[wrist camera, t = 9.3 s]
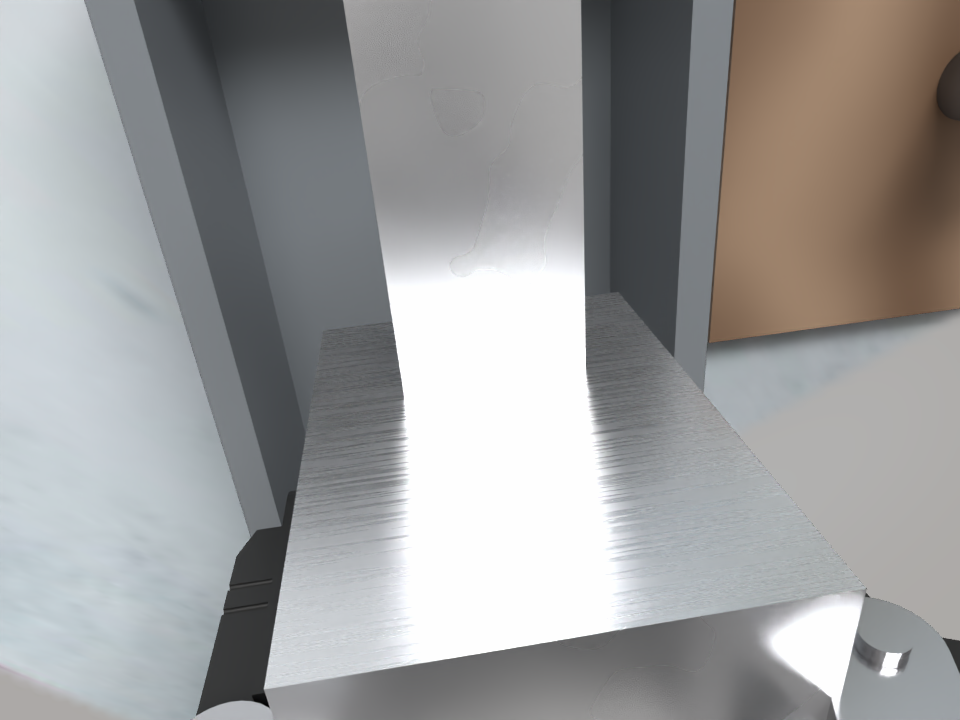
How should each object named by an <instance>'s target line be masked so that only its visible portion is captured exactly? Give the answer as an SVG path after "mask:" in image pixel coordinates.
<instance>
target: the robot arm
mask: <svg viewBox="0 0 960 720" xmlns="http://www.w3.org/2000/svg"><path fill="white" fill-rule="evenodd" d="M296 492H297V490H294V491H290V492H289V493H288V496H287V500H286V506H285V511H284V517H283V523H282V526H280V527H273V528H266V529H260V530H256V532H255V533H254V534H253V536H252V537H251V538H250V540H249V541H248V542H247V543H246V545H245V546H244V547H243V549H242V550H241V551H240V553H239V554H238V555H237V557H236V561H235V565H234V569H233V573H232V577H231V581H230V585H229V586H230V591H228V593H227V596H226V600H225V604H224V608H223V610H224V615H222V616H221V620H220V624H219V628H218V632H217V636H216V640H215V644H214V648H213V652H212V656H211V660H210V664H209V668H208V672H207V676H206V680H205V684H204V688H203V692H202V696H201V700H200V704H199V708H198V711H197V714H196V717H194V718H193V719H191V720H274V718H273V715H272V712H271V709H270V706H269V703H268V700H267V697H266V695H265V692H264V685H265V679H266V673H267V667H268V661H269V655H270V649H271V643H272V637H273V631H274V625H275V619H276V613H277V607H278V601H279V595H280V588H281V582H282V576H283V570H284V564H285V558H286V552H287V546H288V540H289V534H290V528H291V522H292V516H293V510H294V504H295V498H296ZM826 720H960V641H958V640H952V639H946V638H942V637H941V636H940V635H939V633H938V632H937V631H935V629H934V628H933V627H931V625H929V624H928V623H927V622H926V621H924V620H923V619H922V618H920V617H919V616H917V615H915V614H914V613H912V612H911V611H909V610H907V609H905V608H902V607H900V606H898V605H896V604H893V603H890V602H887V601H884V600H880V599H875V598H870V597H869V596H868V594H867V593H865V597H864V602H863V606H862V610H861V614H860V618H859V622H858V627H857V631H856V635H855V639H854V643H853V647H852V651H851V656H850V660H849V664H848V668H847V672H846V676H845V681H844V685H843V689H842V693H841V696H838V697H832V698H831V702H830V706H829V711H828V715H827V719H826Z"/></svg>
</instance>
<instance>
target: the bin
mask: <svg viewBox="0 0 960 720" xmlns="http://www.w3.org/2000/svg"><path fill="white" fill-rule="evenodd" d="M84 1H85V4H86V7H87V11H88V14H89V17H90V20H91V24H92V27H93V30H94V33H95V36H96V40H97V43H98V46H99V49H100V53H101V56H102V59H103V62H104V66H105V69H106V72H107V75H108V78H109V82H110V85H111V88H112V91H113V95H114V98H115V101H116V104H117V107H118V111H119V114H120V117H121V120H122V124H123V127H124V130H125V133H126V136H127V140H128V143H129V146H130V149H131V153H132V156H133V159H134V162H135V165H136V169H137V172H138V175H139V178H140V182H141V185H142V188H143V191H144V194H145V198H146V201H147V204H148V207H149V211H150V214H151V217H152V220H153V223H154V227H155V230H156V233H157V236H158V240H159V243H160V246H161V249H162V252H163V256H164V259H165V262H166V265H167V269H168V272H169V275H170V278H171V281H172V285H173V288H174V291H175V294H176V298H177V301H178V304H179V307H180V311H181V314H182V317H183V320H184V323H185V327H186V330H187V333H188V336H189V340H190V343H191V346H192V349H193V352H194V356H195V359H196V362H197V365H198V369H199V372H200V375H201V378H202V381H203V385H204V388H205V391H206V394H207V398H208V401H209V404H210V407H211V410H212V414H213V417H214V420H215V423H216V427H217V430H218V433H219V436H220V439H221V443H222V446H223V449H224V452H225V456H226V459H227V462H228V465H229V468H230V472H231V475H232V478H233V481H234V485H235V488H236V491H237V494H238V497H239V501H240V504H241V507H242V510H243V514H244V517H245V520H246V523H247V527H248V530H249V533H250V536H251V537H252V536H253V534H254V533H255V532H256V530H260V529H266V528H273V527H280V526H282V523H283V517H284V511H285V506H286V500H287V496H288V493H289V492H290V491H294V490H297V485H298V479H299V473H300V467H301V461H302V455H303V449H304V443H305V437H306V431H307V425H308V419H309V413H310V407H311V401H312V395H313V389H314V383H315V376H316V370H317V364H318V358H319V352H320V346H321V340H322V334H323V330H329V329H337V328H344V327H352V326H360V325H368V324H375V323H383V322H391V321H392V314H391V308H390V301H389V295H388V288H387V282H386V275H385V269H384V262H383V256H382V249H381V243H380V236H379V230H378V223H377V217H376V210H375V204H374V197H373V191H372V184H371V178H370V171H369V165H368V158H367V152H366V145H365V139H364V133H363V126H362V120H361V113H360V107H359V100H358V94H357V87H356V81H355V74H354V68H353V61H352V55H351V48H350V42H349V35H348V29H347V22H346V16H345V9H344V3H343V0H84ZM733 2H734V0H581V41H582V118H583V195H584V272H585V296H593V295H601V294H609V293H616V292H619V293H620V294H621V296H622V297H623V298H624V299H625V300H626V302H627V303H628V304H629V305H630V306H631V308H632V309H633V310H634V311H635V312H636V314H637V315H638V316H639V317H640V318H641V320H642V321H643V322H644V323H645V324H646V326H647V327H648V328H649V329H650V330H651V332H652V333H653V334H654V335H655V336H656V337H657V339H658V340H659V341H660V342H661V343H662V345H663V346H664V347H665V348H666V349H667V351H668V352H669V353H670V354H671V355H672V357H673V358H674V359H675V360H676V361H677V363H678V364H679V365H680V366H681V367H682V369H683V370H684V371H685V372H686V373H687V374H688V376H689V377H690V378H691V379H692V380H693V382H694V383H695V384H696V385H697V386H698V388H699V389H700V390H701V391H702V392H704V379H705V366H706V353H707V340H708V327H709V314H710V301H711V288H712V275H713V262H714V249H715V236H716V223H717V210H718V197H719V184H720V171H721V158H722V145H723V132H724V119H725V106H726V93H727V80H728V67H729V54H730V41H731V28H732V15H733Z"/></svg>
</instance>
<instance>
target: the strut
mask: <svg viewBox="0 0 960 720" xmlns="http://www.w3.org/2000/svg"><path fill="white" fill-rule="evenodd" d="M343 3H344V9H345V16H346V22H347V29H348V35H349V42H350V48H351V55H352V61H353V68H354V74H355V81H356V87H357V94H358V100H359V107H360V113H361V120H362V126H363V133H364V139H365V145H366V152H367V158H368V165H369V171H370V178H371V184H372V191H373V197H374V204H375V210H376V217H377V223H378V230H379V236H380V243H381V249H382V256H383V262H384V269H385V275H386V282H387V288H388V295H389V301H390V308H391V314H392V321H391V322H383V323H375V324H368V325H360V326H352V327H344V328H337V329H329V330H323V334H322V340H321V346H320V352H319V358H318V364H317V370H316V376H315V383H314V389H313V395H312V401H311V407H310V413H309V419H308V425H307V431H306V437H305V443H304V449H303V455H302V461H301V467H300V473H299V479H298V485H297V492H296V498H295V504H294V510H293V516H292V522H291V528H290V534H289V540H288V546H287V552H286V558H285V564H284V570H283V576H282V582H281V588H280V595H279V601H278V607H277V613H276V619H275V625H274V631H273V637H272V643H271V649H270V655H269V661H268V667H267V673H266V679H265V685H264V692H265V695H266V697H267V700H268V703H269V706H270V709H271V712H272V715H273V718H274V720H826V719H827V715H828V711H829V706H830V702H831V698H832V697H838V696H841V693H842V689H843V685H844V681H845V676H846V672H847V668H848V664H849V660H850V656H851V651H852V647H853V643H854V639H855V635H856V631H857V627H858V622H859V618H860V614H861V610H862V606H863V602H864V597H865V593H866V589H867V588H866V587H865V586H864V585H863V583H862V582H861V581H860V580H859V579H858V578H857V576H856V575H855V574H854V573H853V572H852V570H851V569H850V568H849V567H848V566H847V564H846V563H845V562H844V561H843V560H842V559H841V557H840V556H839V555H838V554H837V553H836V551H835V550H834V549H833V548H832V547H831V545H830V544H829V543H828V542H827V541H826V539H825V538H824V537H823V536H822V535H821V533H820V532H819V531H818V530H817V529H816V527H815V526H814V525H813V524H812V523H811V522H810V520H809V519H808V518H807V517H806V515H805V514H804V513H803V512H802V511H801V509H800V508H799V507H798V506H797V505H796V504H795V502H794V501H793V500H792V499H791V498H790V496H789V495H788V494H787V493H786V492H785V490H784V489H783V488H782V487H781V486H780V484H779V483H778V482H777V481H776V480H775V479H774V477H773V476H772V475H771V474H770V473H769V471H768V470H767V469H766V468H765V466H764V465H763V464H762V463H761V462H760V461H759V459H758V458H757V457H756V456H755V455H754V453H753V452H752V451H751V450H750V449H749V447H748V446H747V445H746V444H745V443H744V441H743V440H742V439H741V438H740V437H739V435H738V434H737V433H736V432H735V431H734V429H733V428H732V427H731V426H730V425H729V423H728V422H727V421H726V420H725V419H724V417H723V416H722V415H721V414H720V413H719V412H718V410H717V409H716V408H715V407H714V406H713V404H712V403H711V402H710V401H709V400H708V398H707V397H706V396H705V395H704V394H703V392H702V391H701V390H700V389H699V388H698V386H697V385H696V384H695V383H694V382H693V380H692V379H691V378H690V377H689V376H688V374H687V373H686V372H685V371H684V370H683V369H682V367H681V366H680V365H679V364H678V363H677V361H676V360H675V359H674V358H673V357H672V355H671V354H670V353H669V352H668V351H667V349H666V348H665V347H664V346H663V345H662V343H661V342H660V341H659V340H658V339H657V337H656V336H655V335H654V334H653V333H652V332H651V330H650V329H649V328H648V327H647V326H646V324H645V323H644V322H643V321H642V320H641V318H640V317H639V316H638V315H637V314H636V312H635V311H634V310H633V309H632V308H631V306H630V305H629V304H628V303H627V302H626V300H625V299H624V298H623V297H622V296H621V294H620V293H619V292H616V293H609V294H601V295H593V296H585V272H584V195H583V118H582V41H581V0H343Z"/></svg>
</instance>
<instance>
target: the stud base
mask: <svg viewBox="0 0 960 720" xmlns="http://www.w3.org/2000/svg"><path fill="white" fill-rule="evenodd" d="M959 308H960V0H734V2H733V15H732V28H731V41H730V54H729V67H728V80H727V93H726V106H725V119H724V132H723V145H722V158H721V171H720V184H719V197H718V210H717V223H716V236H715V249H714V262H713V275H712V288H711V301H710V314H709V327H708V340H707V341H708V342H709V343H712V342H719V341H726V340H734V339H741V338H748V337H756V336H763V335H770V334H777V333H785V332H792V331H799V330H806V329H814V328H821V327H828V326H836V325H843V324H850V323H857V322H865V321H872V320H879V319H886V318H894V317H901V316H908V315H915V314H923V313H930V312H937V311H945V310H952V309H959Z"/></svg>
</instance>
